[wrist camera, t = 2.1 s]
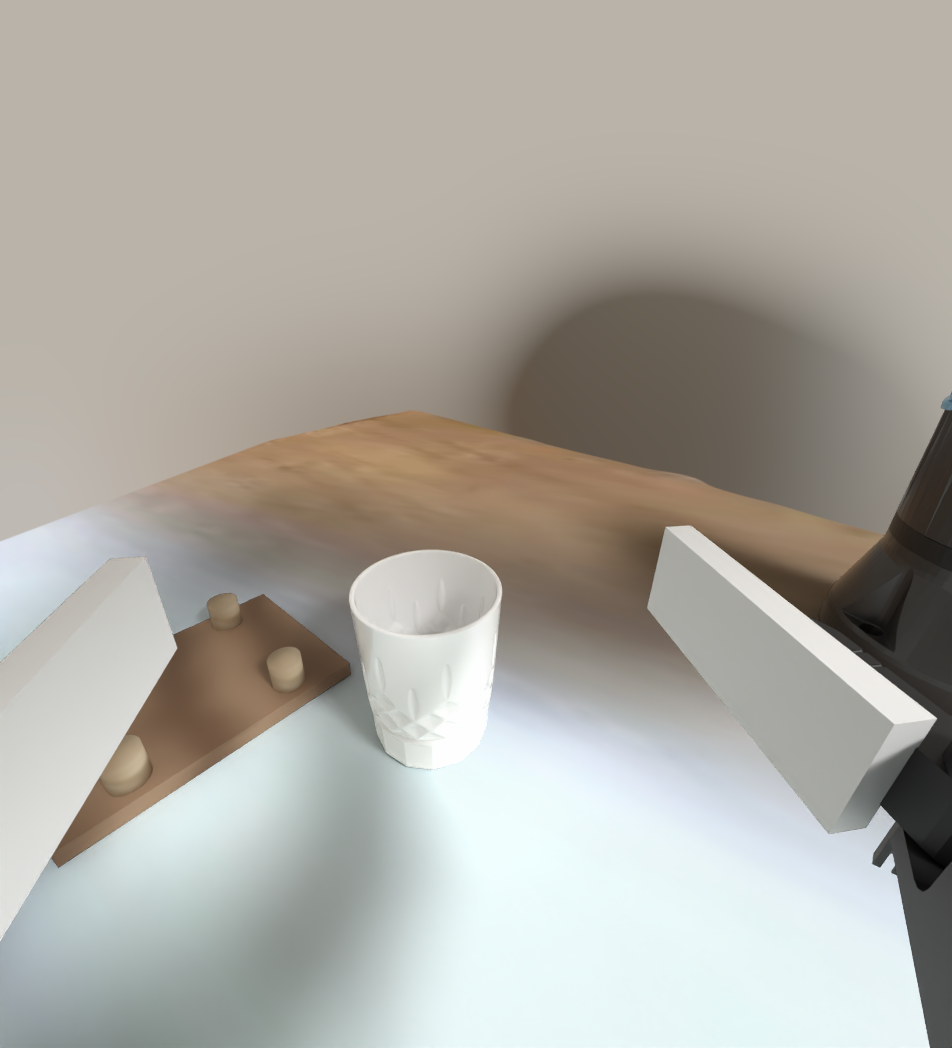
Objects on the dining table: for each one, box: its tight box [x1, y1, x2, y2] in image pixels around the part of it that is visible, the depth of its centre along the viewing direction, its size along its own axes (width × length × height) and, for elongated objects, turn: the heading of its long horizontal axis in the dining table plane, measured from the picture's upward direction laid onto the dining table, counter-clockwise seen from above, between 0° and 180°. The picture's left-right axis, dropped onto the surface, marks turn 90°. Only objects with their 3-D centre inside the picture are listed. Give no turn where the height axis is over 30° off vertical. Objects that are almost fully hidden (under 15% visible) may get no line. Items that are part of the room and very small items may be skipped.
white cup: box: [349, 550, 502, 770], centre depth 26 cm, size 8×8×10 cm
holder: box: [51, 593, 351, 868], centre depth 29 cm, size 16×12×3 cm
